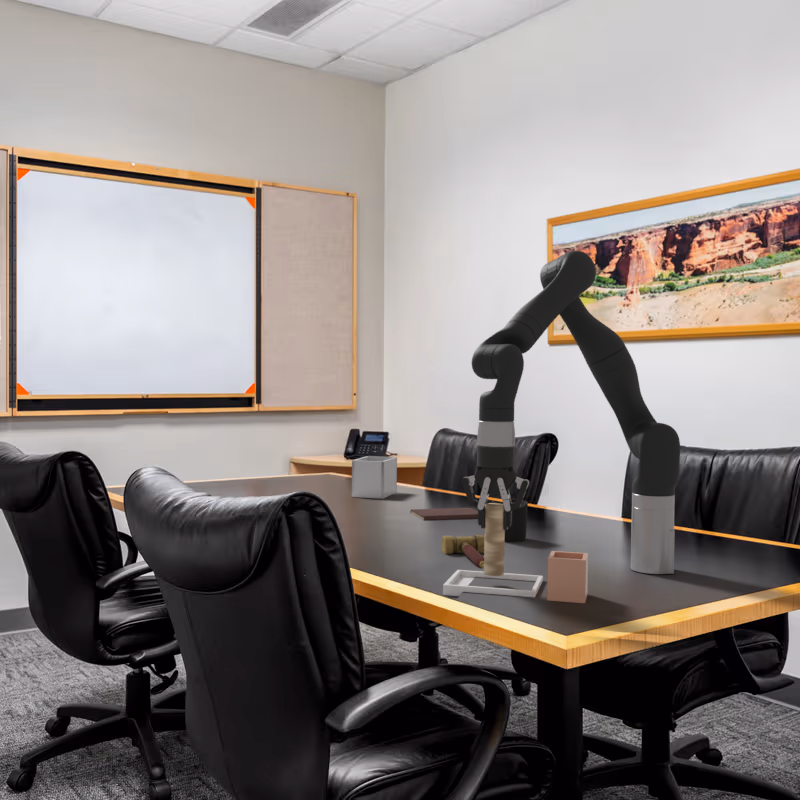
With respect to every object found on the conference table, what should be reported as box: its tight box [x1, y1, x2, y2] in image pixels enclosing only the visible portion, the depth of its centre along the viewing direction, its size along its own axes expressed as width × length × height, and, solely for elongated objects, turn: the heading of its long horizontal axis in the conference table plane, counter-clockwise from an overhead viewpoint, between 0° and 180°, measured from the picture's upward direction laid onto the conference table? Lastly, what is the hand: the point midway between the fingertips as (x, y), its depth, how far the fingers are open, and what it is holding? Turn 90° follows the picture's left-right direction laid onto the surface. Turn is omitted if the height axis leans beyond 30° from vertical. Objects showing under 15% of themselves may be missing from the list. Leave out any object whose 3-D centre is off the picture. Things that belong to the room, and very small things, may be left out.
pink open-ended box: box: [546, 550, 589, 604], centre depth 165 cm, size 7×7×9 cm
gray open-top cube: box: [351, 455, 398, 499], centre depth 313 cm, size 12×18×13 cm, turn 165°
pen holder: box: [491, 499, 529, 543], centre depth 229 cm, size 9×9×10 cm
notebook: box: [409, 507, 478, 521], centre depth 268 cm, size 15×20×2 cm
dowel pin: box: [483, 502, 505, 576], centre depth 174 cm, size 4×4×14 cm
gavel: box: [440, 534, 485, 569], centre depth 203 cm, size 21×5×10 cm
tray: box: [442, 569, 544, 598], centre depth 174 cm, size 18×14×2 cm
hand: (494, 528), depth 174 cm, fingers closed on dowel pin, 4 cm apart
